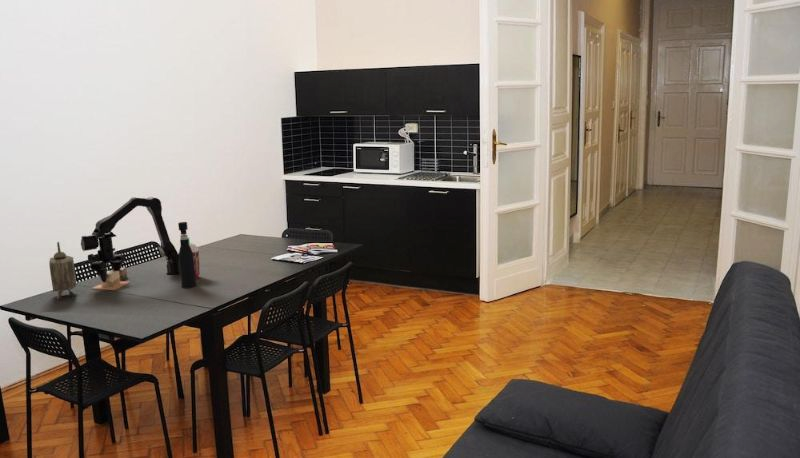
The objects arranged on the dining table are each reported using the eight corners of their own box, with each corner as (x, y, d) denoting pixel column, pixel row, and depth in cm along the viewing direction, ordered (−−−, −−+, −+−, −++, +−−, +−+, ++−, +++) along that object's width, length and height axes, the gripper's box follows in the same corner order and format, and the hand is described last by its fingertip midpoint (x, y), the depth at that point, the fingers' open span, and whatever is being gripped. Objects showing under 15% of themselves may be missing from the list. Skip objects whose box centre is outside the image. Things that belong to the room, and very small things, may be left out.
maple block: (120, 283, 330) (118, 270, 329) (112, 286, 324) (111, 274, 323) (109, 282, 331) (107, 270, 330) (101, 286, 326) (99, 274, 324)
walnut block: (127, 277, 344) (126, 267, 343) (123, 279, 339) (122, 269, 338) (117, 277, 344) (115, 267, 343) (113, 280, 339) (112, 270, 338)
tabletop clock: (56, 293, 319) (48, 240, 314) (77, 290, 322) (70, 237, 318) (54, 301, 306) (46, 246, 301) (77, 298, 309) (69, 243, 304)
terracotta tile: (129, 282, 332) (129, 281, 332) (114, 289, 321) (114, 288, 321) (107, 282, 335) (107, 281, 335) (91, 289, 324) (91, 288, 323)
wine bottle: (183, 288, 318) (176, 224, 312) (180, 285, 323) (174, 222, 318) (197, 286, 321) (191, 222, 315) (194, 283, 326) (188, 220, 320)
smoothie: (205, 276, 339) (201, 236, 335) (193, 280, 331) (189, 239, 327) (191, 275, 342) (187, 235, 338) (180, 279, 335) (175, 238, 331)
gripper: (103, 242, 335) (107, 274, 338) (77, 251, 317) (82, 284, 320) (124, 242, 332) (127, 274, 336) (99, 251, 315) (103, 285, 318)
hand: (110, 279), depth 327 cm, fingers open, 9 cm apart
